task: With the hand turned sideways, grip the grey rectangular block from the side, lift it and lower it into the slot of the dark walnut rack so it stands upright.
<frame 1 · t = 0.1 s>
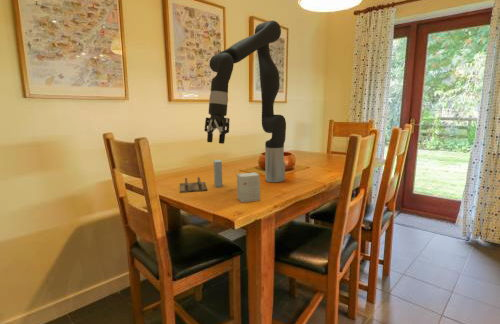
hand: (215, 142, 121), 22 cm above the table, tool pointing down, fingers open, 8 cm apart
grey rectangular block: (218, 185, 140), on the table
small box: (248, 200, 117), on the table
rack: (193, 187, 136), on the table
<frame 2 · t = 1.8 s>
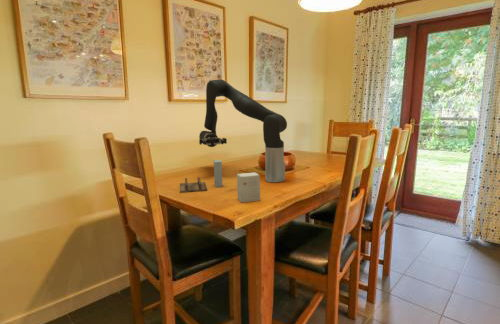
hand: (214, 142, 147), 20 cm above the table, tool horizontal, fingers open, 8 cm apart
nothing on the table moved.
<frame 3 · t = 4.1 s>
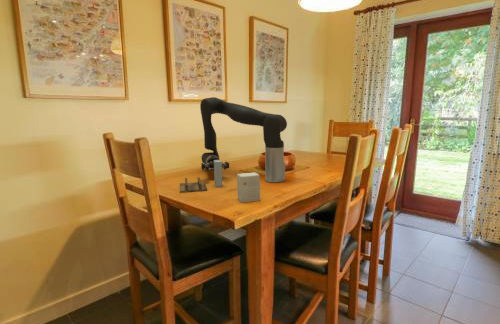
hand: (216, 168, 144), 7 cm above the table, tool horizontal, fingers open, 8 cm apart
nothing on the table moved.
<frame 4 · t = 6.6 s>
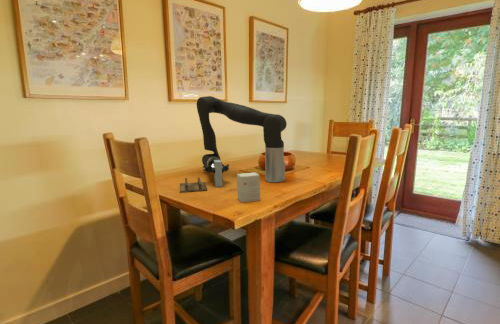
hand: (218, 171, 136), 8 cm above the table, tool horizontal, fingers closed on grey rectangular block, 3 cm apart
grey rectangular block: (218, 185, 140), on the table, touching gripper
everything else where it was.
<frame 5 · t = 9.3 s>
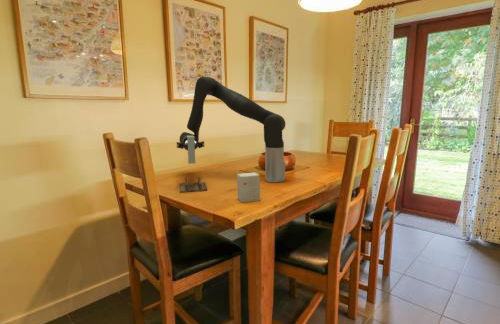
hand: (191, 146, 130), 20 cm above the table, tool horizontal, fingers closed on grey rectangular block, 3 cm apart
grey rectangular block: (191, 162, 134), point 12 cm above the table, touching gripper
everything else where it was.
when the fingers open (10 cm above the table, at t = 12.2 s): grey rectangular block drops 1 cm, resting on rack.
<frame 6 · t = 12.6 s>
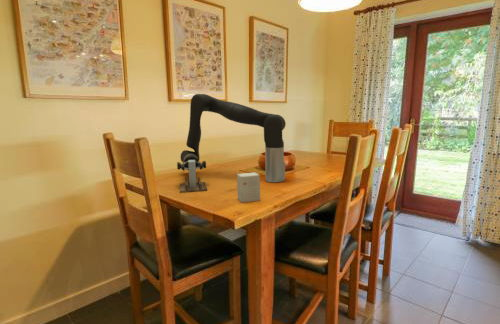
hand: (192, 167, 133), 10 cm above the table, tool horizontal, fingers open, 7 cm apart
grey rectangular block: (192, 186, 136), point 1 cm above the table, touching rack
everything else where it was.
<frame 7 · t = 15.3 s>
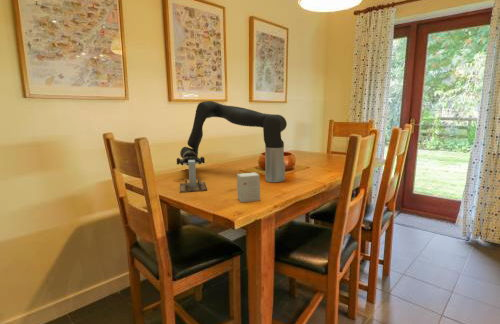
hand: (191, 162, 146), 10 cm above the table, tool horizontal, fingers open, 8 cm apart
nothing on the table moved.
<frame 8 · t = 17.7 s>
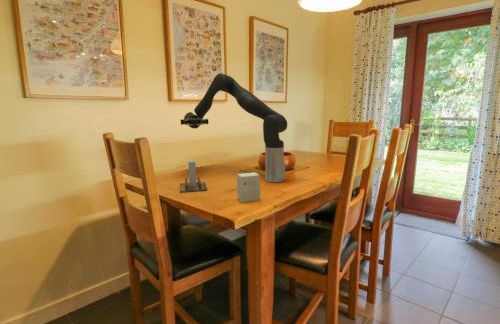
hand: (195, 122, 146), 30 cm above the table, tool horizontal, fingers open, 8 cm apart
nothing on the table moved.
at the end: grey rectangular block 0.1 cm off-centre on the rack, point 0.8 cm above the rack's base; grey rectangular block tilted 0°; the gripper is holding nothing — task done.
